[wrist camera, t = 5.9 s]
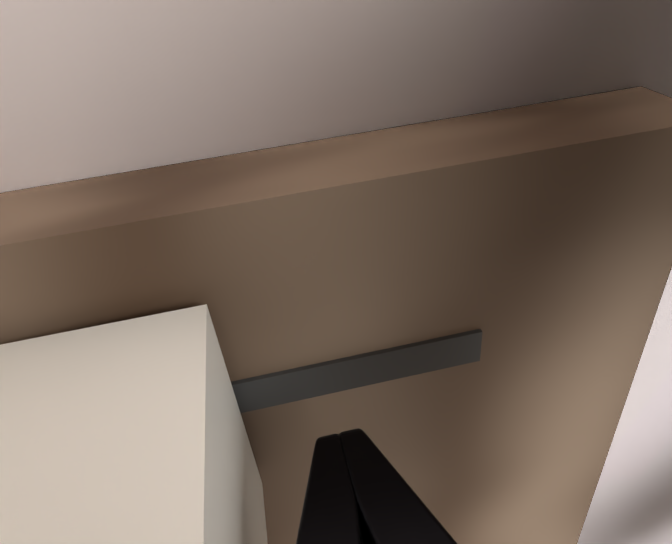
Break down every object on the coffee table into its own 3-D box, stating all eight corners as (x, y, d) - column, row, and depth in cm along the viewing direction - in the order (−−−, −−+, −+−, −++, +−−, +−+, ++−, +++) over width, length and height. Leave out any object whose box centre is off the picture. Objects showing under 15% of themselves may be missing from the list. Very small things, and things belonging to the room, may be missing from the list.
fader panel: (641, 86, 10) (727, 119, 8) (524, 570, 22) (551, 625, 20) (-601, 292, 8) (-818, 394, 6) (4, 709, 20) (-16, 784, 18)
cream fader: (206, 304, 8) (203, 552, 5) (262, 483, 11) (282, 715, 8) (-58, 355, 8) (-247, 663, 5) (71, 528, 11) (10, 791, 7)
